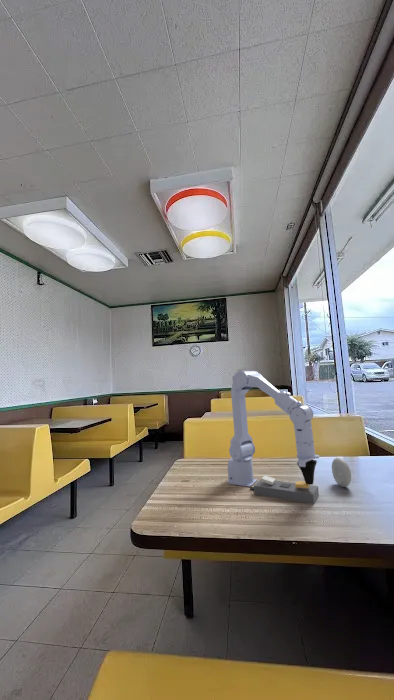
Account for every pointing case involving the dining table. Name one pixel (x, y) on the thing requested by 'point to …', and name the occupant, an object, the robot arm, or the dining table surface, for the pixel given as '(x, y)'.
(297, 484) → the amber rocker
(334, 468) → the grey round disc
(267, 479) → the white plug
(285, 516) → the dining table surface
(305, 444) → the robot arm
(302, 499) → the power strip
